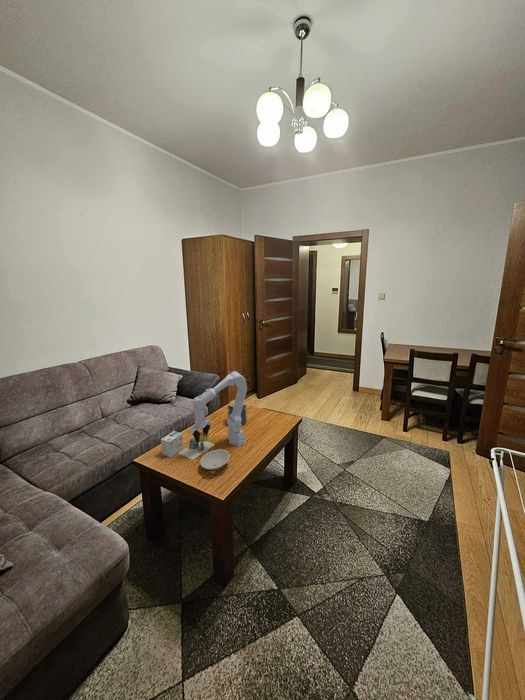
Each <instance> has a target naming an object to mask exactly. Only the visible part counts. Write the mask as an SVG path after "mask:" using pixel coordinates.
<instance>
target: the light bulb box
mask: <svg viewBox="0 0 525 700" xmlns="http://www.w3.org/2000/svg"><path fill="white" fill-rule="evenodd" d="M160 444H161V453H162V455H163V456H166V457H169V458H172V457H173V456H175V455H176V454H178V453H179V452H180V451H182V450H184V440H183V433H182V432H180V431H179V432H178V431H176V430H172V432H170V433H169V434H167V435H166V436H164V437H162V438H161V439H160Z"/></svg>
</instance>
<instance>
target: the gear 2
mask: <svg viewBox="0 0 525 700" xmlns="http://www.w3.org/2000/svg"><path fill="white" fill-rule="evenodd" d="M199 432H200V437H199V439H200V441H199V442H201V443H203V442H205V441H207V438H208V437H207V438H206V434H205V432H203V431H199Z"/></svg>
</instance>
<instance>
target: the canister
mask: <svg viewBox="0 0 525 700" xmlns="http://www.w3.org/2000/svg"><path fill="white" fill-rule="evenodd" d="M234 403H235V399H233V400H231V401H229V402H228V406H227V419H228V418H229V416H230V414H231V413H232V411H233V407H234ZM246 408H247V405H246V402H245V401H244V404H243V408H242V412H241V426H245V425H246V424H247V422H248V420H247V409H246ZM245 423H246V424H245Z"/></svg>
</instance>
